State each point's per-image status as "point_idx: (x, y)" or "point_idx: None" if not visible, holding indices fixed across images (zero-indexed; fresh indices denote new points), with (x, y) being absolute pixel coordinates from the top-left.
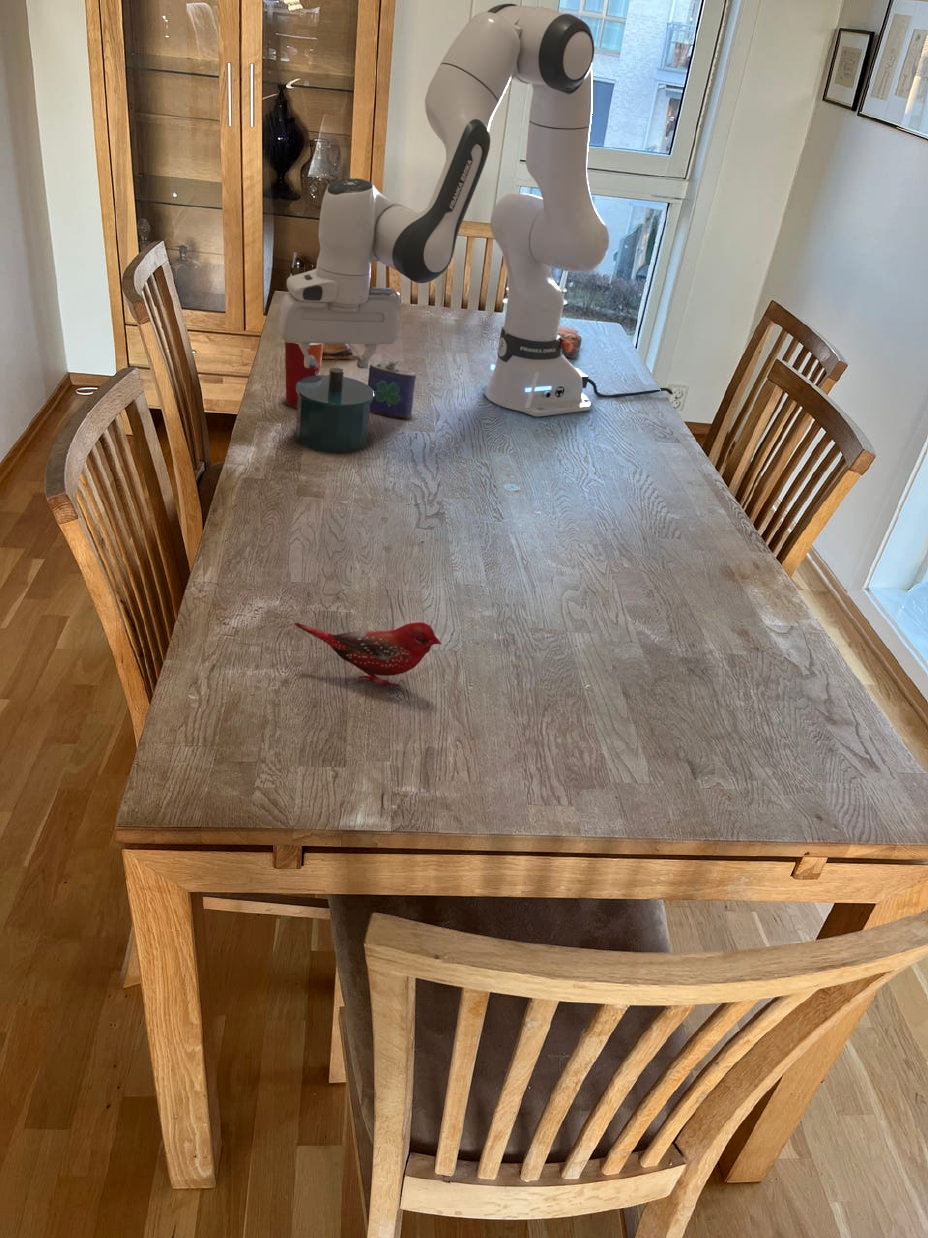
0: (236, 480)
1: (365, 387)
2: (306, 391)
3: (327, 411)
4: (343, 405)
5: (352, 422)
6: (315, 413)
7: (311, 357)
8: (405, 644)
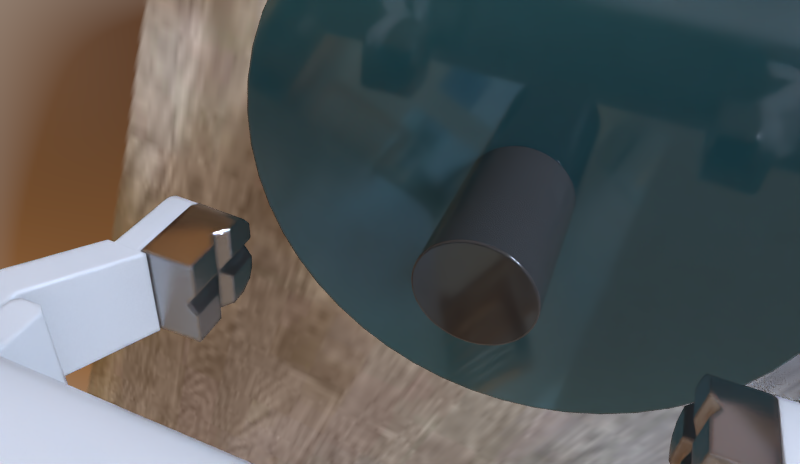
0: (133, 222)
1: None
2: (300, 154)
3: None
4: (454, 378)
5: None
6: None
7: (170, 309)
8: None
